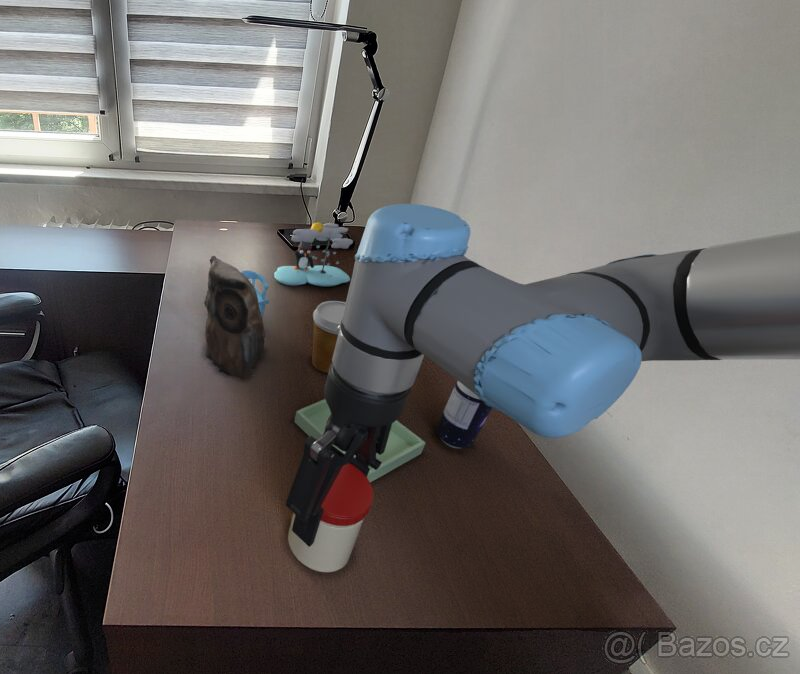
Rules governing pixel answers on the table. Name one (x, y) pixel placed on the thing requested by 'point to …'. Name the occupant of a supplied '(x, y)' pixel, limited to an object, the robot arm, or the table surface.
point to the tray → (396, 453)
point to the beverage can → (462, 418)
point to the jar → (326, 546)
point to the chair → (261, 297)
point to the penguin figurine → (314, 273)
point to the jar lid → (348, 498)
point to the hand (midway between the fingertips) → (325, 516)
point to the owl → (232, 321)
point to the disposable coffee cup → (326, 333)
